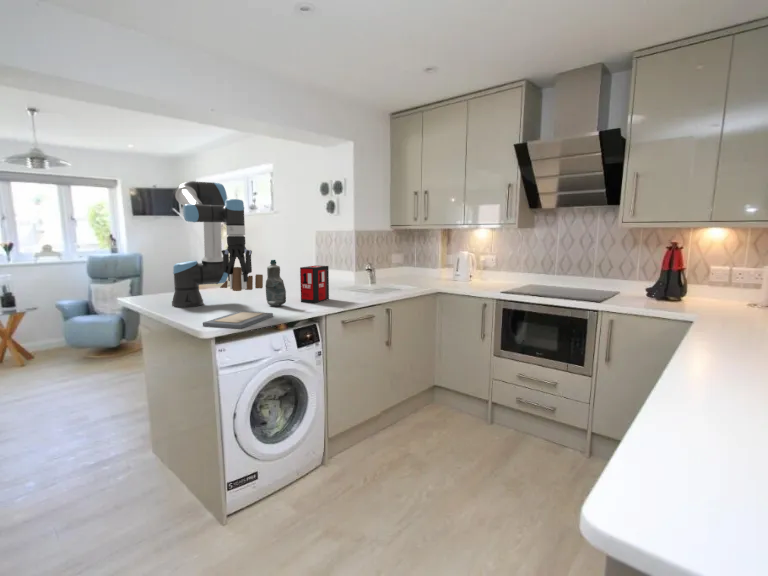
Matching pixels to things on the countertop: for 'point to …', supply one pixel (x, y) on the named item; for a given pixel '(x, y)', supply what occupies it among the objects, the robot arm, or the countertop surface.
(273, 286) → the detergent
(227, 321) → the baseplate
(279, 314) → the countertop surface
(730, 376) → the countertop surface
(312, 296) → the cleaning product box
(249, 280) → the wooden block set
